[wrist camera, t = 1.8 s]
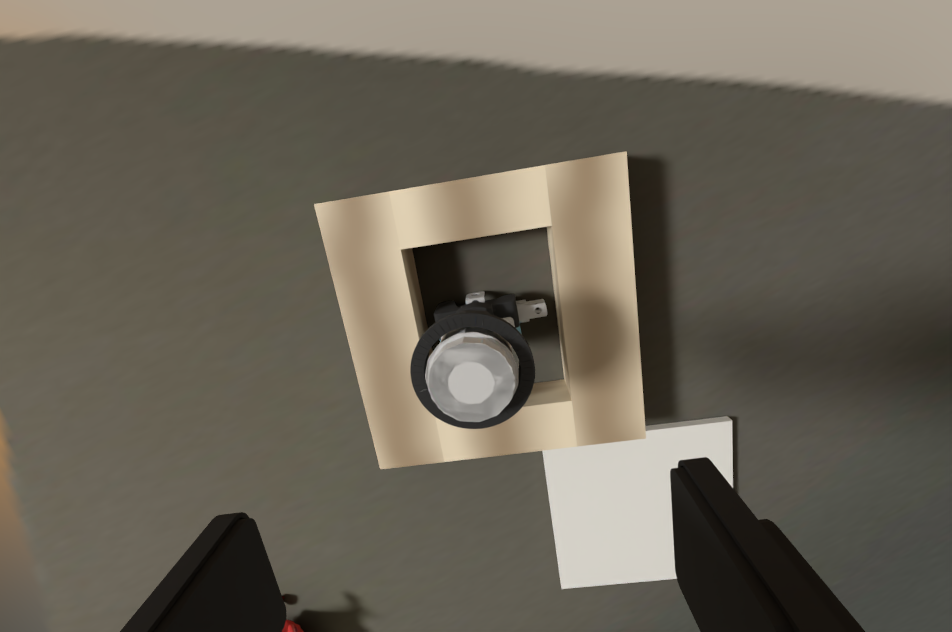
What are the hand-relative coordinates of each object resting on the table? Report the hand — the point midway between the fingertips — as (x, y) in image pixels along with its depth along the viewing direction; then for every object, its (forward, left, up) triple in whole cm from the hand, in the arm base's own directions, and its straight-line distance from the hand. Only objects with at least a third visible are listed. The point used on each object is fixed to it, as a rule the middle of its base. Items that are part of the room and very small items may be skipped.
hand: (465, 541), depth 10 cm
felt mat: (-8, +15, -19) cm, 25 cm away
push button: (0, 0, -19) cm, 19 cm away
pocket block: (0, 0, -19) cm, 19 cm away
